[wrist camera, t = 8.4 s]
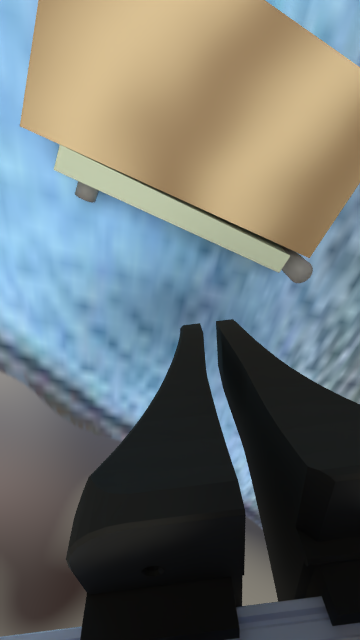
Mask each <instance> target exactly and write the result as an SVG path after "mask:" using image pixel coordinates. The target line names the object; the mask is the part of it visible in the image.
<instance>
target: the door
mask: <svg viewBox="0 0 360 640" xmlns="http://www.w3.org/2000/svg"><path fill="white" fill-rule="evenodd" d="M54 170H55V171H58V172H60V173H62V174H64V175H66V176H68V177H71V178H73V179H75V180H77V181H78V184H77V188H76V191H75V195H76V196H78V197H79V198H81V199H83V200H86V201H89V202H95V201H96V198H97V194H98V191H101V192H103V193H106V194H108V195H110V196H112V197H114V198H117V199H119V200H121V201H123V202H125V203H128V204H130V205H132V206H134V207H136V208H138V209H141V210H143V211H145V212H147V213H149V214H152V215H154V216H156V217H158V218H160V219H163V220H165V221H167V222H169V223H171V224H173V225H176V226H178V227H180V228H182V229H184V230H187V231H189V232H191V233H193V234H195V235H198V236H200V237H202V238H204V239H206V240H208V241H211V242H213V243H215V244H217V245H219V246H222V247H224V248H226V249H228V250H230V251H233V252H235V253H237V254H239V255H241V256H243V257H246V258H248V259H250V260H252V261H254V262H257V263H259V264H261V265H263V266H265V267H268V268H270V269H272V270H274V271H276V272H278V273H279V272H280V271H281V270H282V271H283V272H284V273H285V274H286V275H287V276H288V277H289V278H290V279H291V280H292V281H293V282H295V283H302V282H305V281H306V280H308V279H309V278H310V276H311V274H312V271H313V268H312V266H311V264H310V263H309V262H307V261H306V260H305V259H304V258H303V257H301V256H300V255H299V254H298V253H296V252H295V251H293V250H291V249H288V248H286V247H284V246H282V245H280V244H277V243H275V242H273V241H271V240H269V239H266V238H264V237H262V236H260V235H258V234H255V233H253V232H251V231H249V230H247V229H244V228H242V227H240V226H238V225H236V224H233V223H231V222H229V221H227V220H225V219H223V218H220V217H218V216H216V215H214V214H212V213H209V212H207V211H205V210H203V209H201V208H198V207H196V206H194V205H192V204H190V203H187V202H185V201H183V200H181V199H179V198H176V197H174V196H172V195H170V194H168V193H165V192H163V191H161V190H159V189H157V188H154V187H152V186H150V185H148V184H146V183H144V182H141V181H139V180H137V179H135V178H133V177H130V176H128V175H126V174H124V173H122V172H119V171H117V170H115V169H113V168H111V167H108V166H106V165H104V164H102V163H100V162H97V161H95V160H93V159H91V158H89V157H86V156H84V155H82V154H80V153H78V152H76V151H73V150H71V149H69V148H67V147H65V146H62V145H60V146H59V150H58V154H57V159H56V163H55V167H54Z"/></svg>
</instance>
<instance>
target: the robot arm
mask: <svg viewBox="0 0 360 640" xmlns="http://www.w3.org/2000/svg"><path fill="white" fill-rule="evenodd" d="M216 330H217V351H218V366H219V371H220V376H221V381H222V385H223V389H224V392H225V395H226V398H227V401H228V404H229V407H230V410H231V413H232V415H233V418H234V421H235V424H236V427H237V430H238V433H239V435H240V438H241V441H242V445H243V448H244V451H245V455H246V459H247V463H248V467H249V471H250V475H251V479H252V484H253V488H254V492H255V496H256V501H257V505H258V509H259V514H260V518H261V523H262V527H263V532H264V536H265V541H266V545H267V550H268V554H269V559H270V564H271V569H272V573H273V578H274V583H275V588H276V592H277V597H278V602H272V603H264V604H257V605H248V606H242V575H244V556H245V555H244V554H245V509H244V504H243V500H242V496H241V492H240V487H239V483H238V479H237V476H236V474H235V471H234V468H233V465H232V462H231V459H230V456H229V452H228V449H227V446H226V443H225V440H224V437H223V433H222V430H221V427H220V423H219V420H218V416H217V413H216V409H215V405H214V402H213V398H212V394H211V390H210V386H209V382H208V378H207V373H206V365H205V352H204V339H203V331H202V328H201V325H200V323H199V324H191V325H183V326H182V327H181V328H180V338H179V342H178V346H177V349H176V352H175V355H174V358H173V360H172V363H171V365H170V368H169V370H168V372H167V374H166V377H165V379H164V381H163V383H162V385H161V387H160V388H159V390H158V392H157V394H156V395H155V397H154V399H153V400H152V402H151V403H150V405H149V407H148V408H147V410H146V411H145V413H144V414H143V416H142V417H141V418H140V420H139V421H138V422H137V424H136V425H135V426H134V427H133V429H132V430H131V431H130V432H129V434H128V435H127V436H126V437H125V439H124V440H123V441H122V442H121V444H120V445H119V446H118V447H117V448H116V449H115V451H114V452H113V453H112V454H111V455H110V456H109V457H108V458H107V459H106V460H105V461H104V462H103V463H102V464H101V465H100V466H99V467H98V468H97V469H96V470H95V471H94V473H92V474H91V476H90V477H89V478H88V481H87V483H86V485H85V488H84V490H83V493H82V496H81V499H80V502H79V505H78V508H77V511H76V514H75V518H74V522H73V527H72V531H71V536H70V541H69V546H68V551H67V557H66V560H67V563H68V566H69V568H70V569H71V571H72V572H73V574H74V575H75V576H76V578H77V579H78V581H79V582H80V583H81V585H82V586H83V588H84V589H85V590H86V592H87V597H86V604H85V610H84V618H83V624H82V627H74V628H67V629H59V630H51V631H43V632H35V633H27V634H19V635H12V636H4V637H0V640H360V404H357V403H355V402H353V401H351V400H349V399H346V398H344V397H342V396H340V395H338V394H336V393H334V392H332V391H330V390H328V389H326V388H324V387H323V386H321V385H319V384H317V383H315V382H313V381H312V380H310V379H308V378H307V377H305V376H303V375H302V374H300V373H299V372H297V371H295V370H294V369H292V368H291V367H289V366H288V365H286V364H285V363H284V362H282V361H281V360H279V359H278V358H277V357H275V356H274V355H273V354H272V353H270V352H269V351H268V350H267V349H265V348H264V347H263V346H262V345H261V344H259V343H258V342H257V341H256V340H255V339H254V338H253V337H251V336H250V335H249V334H248V333H247V332H246V331H245V330H244V329H243V328H242V327H241V326H240V325H239V324H238V323H237V322H235V321H234V320H233V319H231V320H223V321H216Z"/></svg>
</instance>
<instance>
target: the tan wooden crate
mask: <svg viewBox="0 0 360 640" xmlns="http://www.w3.org/2000/svg"><path fill="white" fill-rule="evenodd" d="M20 126H21V127H23V128H25V129H27V130H29V131H32V132H34V133H36V134H38V135H40V136H43V137H45V138H47V139H49V140H51V141H54V142H56V143H58V144H60V145H62V146H65V147H67V148H69V149H71V150H73V151H76V152H78V153H80V154H82V155H84V156H86V157H89V158H91V159H93V160H95V161H97V162H100V163H102V164H104V165H106V166H108V167H111V168H113V169H115V170H117V171H119V172H122V173H124V174H126V175H128V176H130V177H133V178H135V179H137V180H139V181H141V182H144V183H146V184H148V185H150V186H152V187H154V188H157V189H159V190H161V191H163V192H165V193H168V194H170V195H172V196H174V197H176V198H179V199H181V200H183V201H185V202H187V203H190V204H192V205H194V206H196V207H198V208H201V209H203V210H205V211H207V212H209V213H212V214H214V215H216V216H218V217H220V218H223V219H225V220H227V221H229V222H231V223H233V224H236V225H238V226H240V227H242V228H244V229H247V230H249V231H251V232H253V233H255V234H258V235H260V236H262V237H264V238H266V239H269V240H271V241H273V242H275V243H277V244H280V245H282V246H284V247H286V248H288V249H291V250H293V251H295V252H297V253H299V254H302V255H304V256H306V257H308V258H310V256H311V255H312V253H313V252H314V250H315V249H316V247H317V246H318V244H319V243H320V241H321V240H322V238H323V237H324V235H325V234H326V232H327V231H328V230H329V228H330V227H331V225H332V224H333V222H334V221H335V219H336V218H337V216H338V215H339V213H340V212H341V210H342V209H343V207H344V206H345V204H346V203H347V201H348V200H349V198H350V197H351V195H352V194H353V192H354V191H355V189H356V188H357V186H358V185H359V183H360V67H359V66H357V65H356V64H354V63H353V62H352V61H350V60H349V59H347V58H346V57H344V56H343V55H342V54H340V53H339V52H337V51H336V50H335V49H333V48H332V47H330V46H329V45H327V44H326V43H325V42H323V41H322V40H320V39H319V38H317V37H316V36H315V35H313V34H312V33H310V32H309V31H308V30H306V29H305V28H303V27H302V26H300V25H299V24H298V23H296V22H295V21H293V20H292V19H291V18H289V17H288V16H286V15H285V14H283V13H282V12H281V11H279V10H278V9H276V8H275V7H273V6H272V5H271V4H269V3H268V2H266V1H265V0H39V1H38V8H37V15H36V21H35V28H34V35H33V42H32V48H31V55H30V62H29V68H28V75H27V82H26V89H25V95H24V102H23V109H22V115H21V122H20Z"/></svg>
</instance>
